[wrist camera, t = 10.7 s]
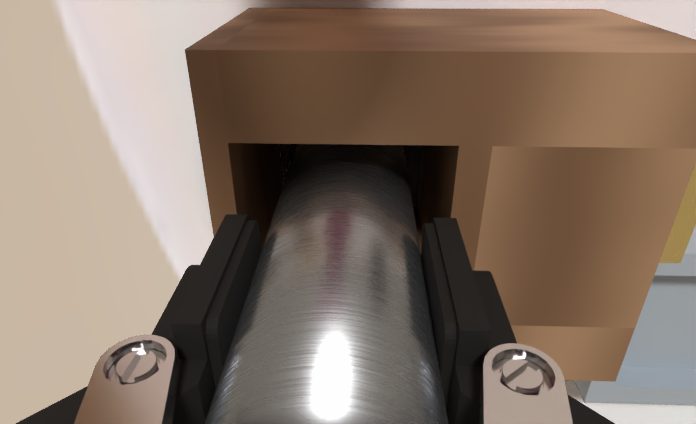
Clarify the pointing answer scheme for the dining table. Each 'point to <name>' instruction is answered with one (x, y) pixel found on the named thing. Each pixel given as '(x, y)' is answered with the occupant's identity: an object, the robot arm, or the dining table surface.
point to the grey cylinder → (336, 302)
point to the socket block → (477, 143)
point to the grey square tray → (658, 343)
